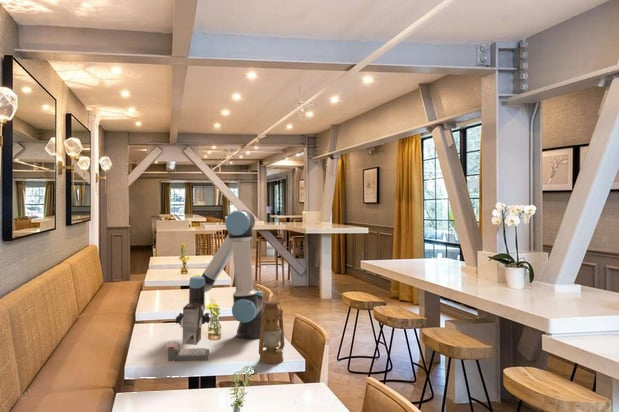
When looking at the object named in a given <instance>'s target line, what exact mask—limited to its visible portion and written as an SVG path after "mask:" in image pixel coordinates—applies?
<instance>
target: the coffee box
mask: <svg viewBox="0 0 619 412" xmlns="http://www.w3.org/2000/svg"><path fill="white" fill-rule="evenodd" d="M182 311H183V312H182V314H183V328H182V342H181V343H182V345H184V346H185V345H189V346H192V345H193V346H197V345H198V344H199V342H200V341H201V340H202V326H201V327H200V318H201V311H202V304H189V303H187V304H185V305H184V306H183V310H182Z"/></svg>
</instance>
